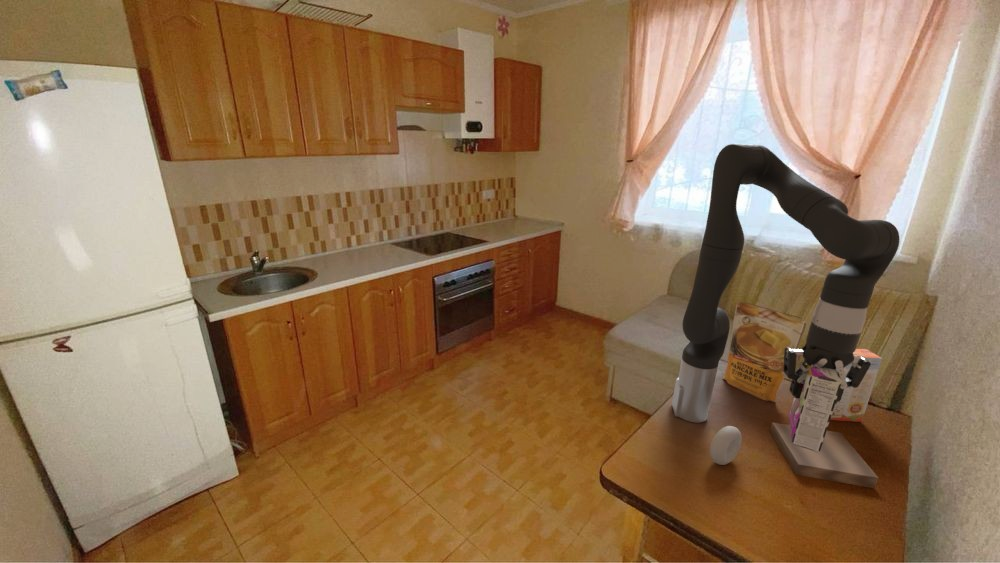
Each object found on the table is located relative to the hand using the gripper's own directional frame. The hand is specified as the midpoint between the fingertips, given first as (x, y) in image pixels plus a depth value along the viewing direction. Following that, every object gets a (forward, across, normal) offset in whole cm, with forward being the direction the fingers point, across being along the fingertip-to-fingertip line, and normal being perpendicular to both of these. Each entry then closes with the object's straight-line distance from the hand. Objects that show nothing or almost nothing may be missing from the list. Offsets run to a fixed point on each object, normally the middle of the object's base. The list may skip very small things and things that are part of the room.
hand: (813, 398), depth 81 cm
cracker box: (+26, +25, +37) cm, 51 cm away
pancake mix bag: (+26, +6, +46) cm, 53 cm away
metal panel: (+25, +13, +16) cm, 33 cm away
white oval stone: (+26, -11, +7) cm, 29 cm away
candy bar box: (+9, 0, 0) cm, 9 cm away
